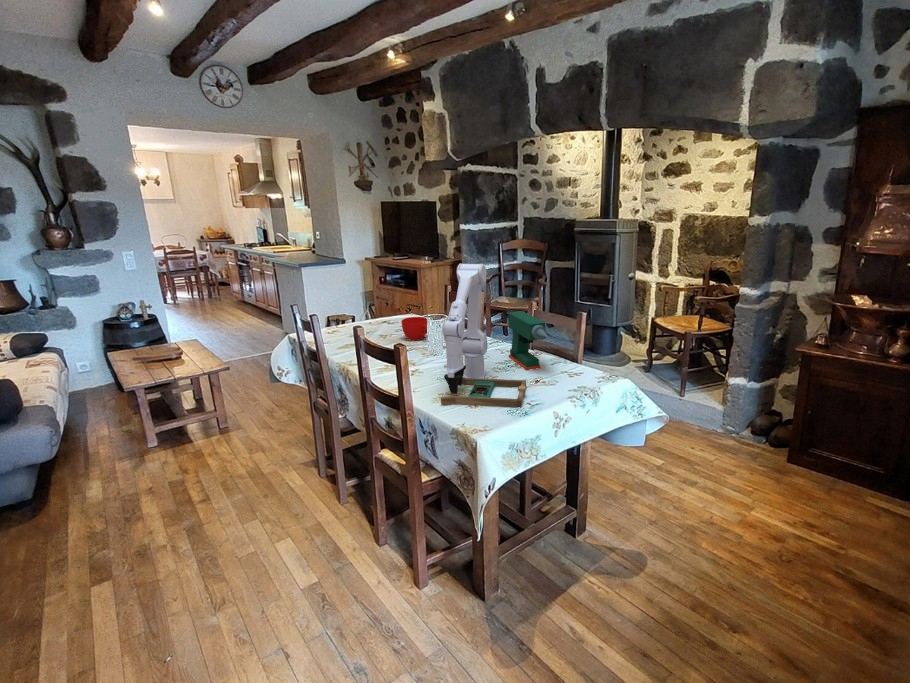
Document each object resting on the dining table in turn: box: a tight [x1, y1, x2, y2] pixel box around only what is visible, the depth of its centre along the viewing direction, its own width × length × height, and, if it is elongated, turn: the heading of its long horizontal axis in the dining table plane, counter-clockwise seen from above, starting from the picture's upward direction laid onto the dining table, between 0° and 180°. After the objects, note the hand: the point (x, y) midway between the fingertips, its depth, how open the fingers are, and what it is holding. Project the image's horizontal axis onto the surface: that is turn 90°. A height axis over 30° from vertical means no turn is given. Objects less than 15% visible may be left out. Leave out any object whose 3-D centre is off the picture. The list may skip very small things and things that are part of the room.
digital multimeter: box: [467, 381, 495, 398], centre depth 176 cm, size 7×15×3 cm, turn 167°
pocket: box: [440, 376, 527, 409], centre depth 175 cm, size 22×28×3 cm
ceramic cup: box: [400, 316, 428, 341], centre depth 246 cm, size 13×17×10 cm
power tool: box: [507, 310, 550, 371], centre depth 198 cm, size 32×7×20 cm, turn 16°
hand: (456, 389), depth 177 cm, fingers open, 7 cm apart
